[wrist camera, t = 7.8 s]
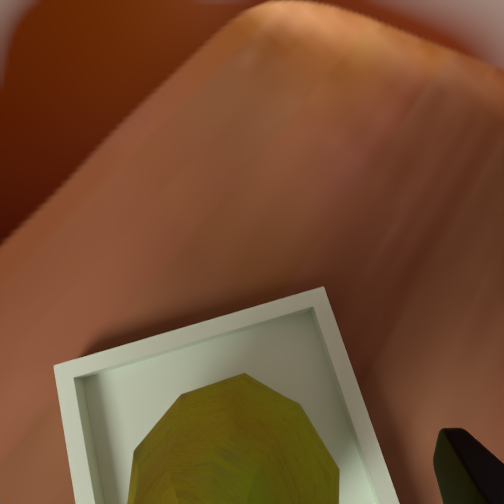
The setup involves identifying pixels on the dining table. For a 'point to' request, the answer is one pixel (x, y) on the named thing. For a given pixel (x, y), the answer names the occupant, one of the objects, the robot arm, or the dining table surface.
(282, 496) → the fruit
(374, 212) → the dining table surface
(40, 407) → the dining table surface
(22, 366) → the dining table surface
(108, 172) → the dining table surface
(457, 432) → the robot arm
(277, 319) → the tray
